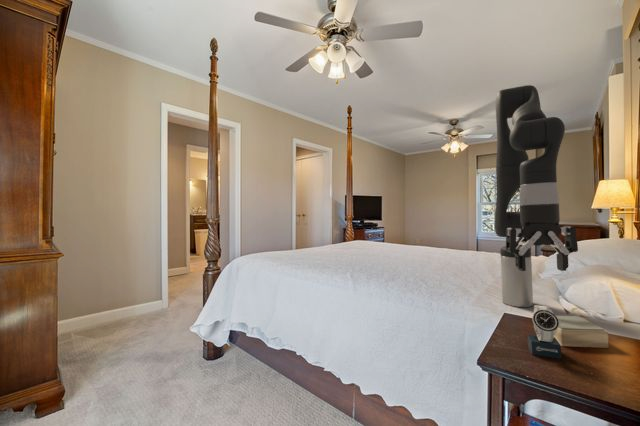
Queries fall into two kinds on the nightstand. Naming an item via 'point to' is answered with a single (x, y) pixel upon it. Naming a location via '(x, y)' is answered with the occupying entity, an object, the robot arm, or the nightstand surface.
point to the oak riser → (580, 333)
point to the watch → (544, 333)
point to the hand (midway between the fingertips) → (541, 270)
